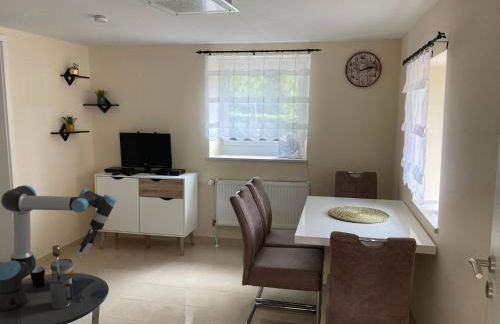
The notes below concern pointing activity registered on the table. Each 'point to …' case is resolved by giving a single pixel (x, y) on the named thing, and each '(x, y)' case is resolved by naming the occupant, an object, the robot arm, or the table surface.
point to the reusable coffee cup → (63, 267)
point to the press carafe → (60, 290)
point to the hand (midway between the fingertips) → (81, 255)
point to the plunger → (56, 253)
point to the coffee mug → (38, 276)
